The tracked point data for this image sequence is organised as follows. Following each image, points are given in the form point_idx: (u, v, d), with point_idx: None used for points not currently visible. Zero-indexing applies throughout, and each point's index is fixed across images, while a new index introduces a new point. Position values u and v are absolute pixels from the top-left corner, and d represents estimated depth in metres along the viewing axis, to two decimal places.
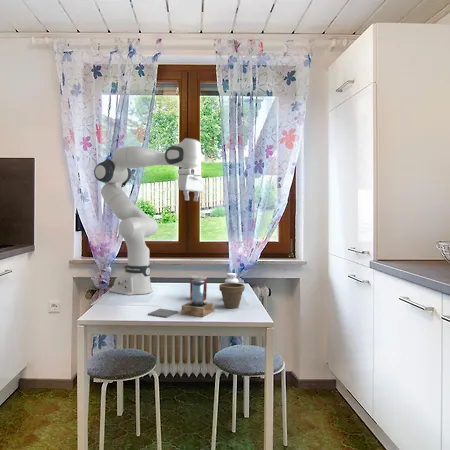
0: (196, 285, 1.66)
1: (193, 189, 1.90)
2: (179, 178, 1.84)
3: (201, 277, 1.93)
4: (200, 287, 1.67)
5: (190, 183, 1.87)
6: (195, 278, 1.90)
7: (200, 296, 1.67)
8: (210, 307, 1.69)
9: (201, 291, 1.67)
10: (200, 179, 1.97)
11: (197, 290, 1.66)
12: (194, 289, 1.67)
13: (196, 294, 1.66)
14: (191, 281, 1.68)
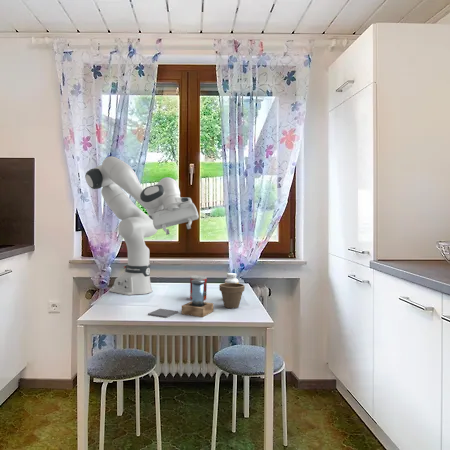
0: (196, 285, 1.66)
1: None
2: (194, 205, 1.77)
3: (201, 277, 1.93)
4: (200, 287, 1.67)
5: None
6: (195, 278, 1.90)
7: (200, 296, 1.67)
8: (210, 307, 1.69)
9: (201, 291, 1.67)
10: None
11: (197, 290, 1.66)
12: (194, 289, 1.67)
13: (196, 294, 1.66)
14: (191, 281, 1.68)
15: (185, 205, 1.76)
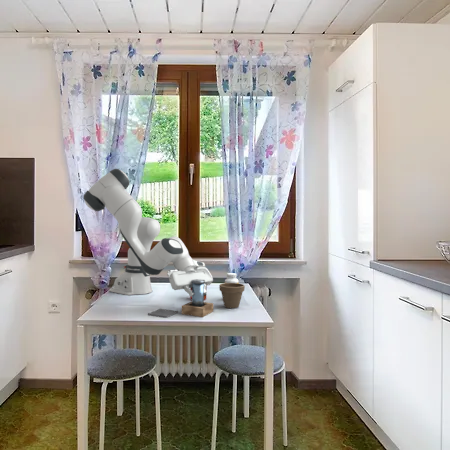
0: (196, 285, 1.66)
1: None
2: None
3: None
4: (200, 287, 1.67)
5: None
6: None
7: (200, 296, 1.67)
8: (210, 307, 1.69)
9: (201, 291, 1.67)
10: None
11: (197, 290, 1.66)
12: (194, 289, 1.67)
13: (196, 294, 1.66)
14: (191, 281, 1.68)
15: (201, 269, 1.76)
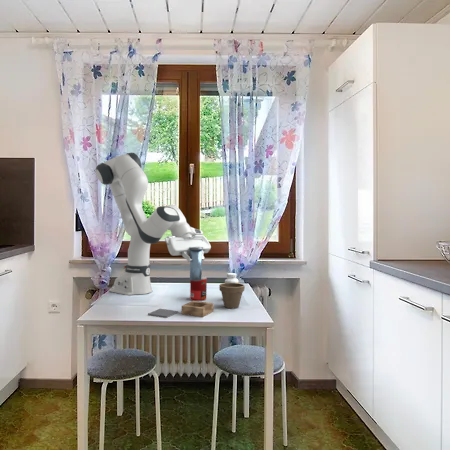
0: (194, 252, 1.66)
1: None
2: None
3: None
4: (198, 254, 1.66)
5: None
6: None
7: (198, 263, 1.66)
8: (210, 307, 1.69)
9: (199, 258, 1.66)
10: None
11: (195, 257, 1.66)
12: (192, 256, 1.66)
13: (194, 261, 1.66)
14: (189, 248, 1.67)
15: (198, 237, 1.76)
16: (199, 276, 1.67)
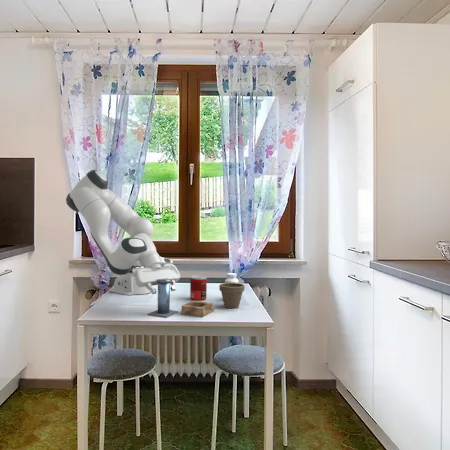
0: (161, 284, 1.64)
1: None
2: None
3: (201, 277, 1.93)
4: (165, 286, 1.64)
5: None
6: (195, 278, 1.90)
7: (165, 295, 1.64)
8: (210, 307, 1.69)
9: (166, 290, 1.64)
10: None
11: (162, 289, 1.64)
12: (159, 288, 1.64)
13: (161, 293, 1.64)
14: None
15: (168, 266, 1.73)
16: (166, 309, 1.65)
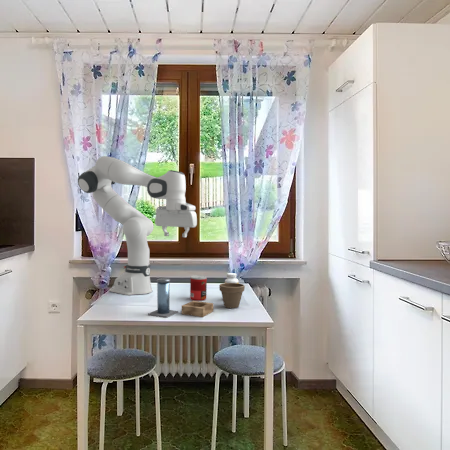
0: (161, 284, 1.64)
1: None
2: (192, 215, 1.76)
3: (201, 277, 1.93)
4: (165, 286, 1.64)
5: None
6: (195, 278, 1.90)
7: (165, 295, 1.64)
8: (210, 307, 1.69)
9: (166, 290, 1.64)
10: None
11: (162, 289, 1.64)
12: (159, 288, 1.64)
13: (161, 293, 1.64)
14: (156, 280, 1.65)
15: (183, 213, 1.77)
16: (166, 309, 1.65)
